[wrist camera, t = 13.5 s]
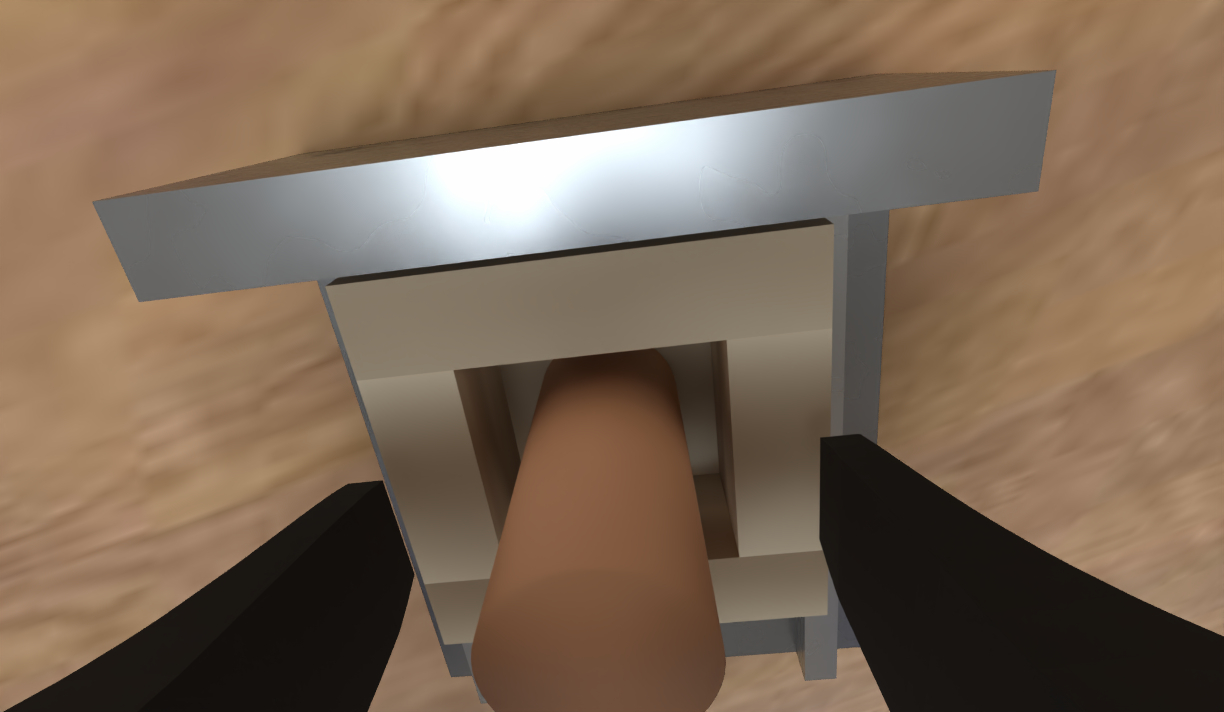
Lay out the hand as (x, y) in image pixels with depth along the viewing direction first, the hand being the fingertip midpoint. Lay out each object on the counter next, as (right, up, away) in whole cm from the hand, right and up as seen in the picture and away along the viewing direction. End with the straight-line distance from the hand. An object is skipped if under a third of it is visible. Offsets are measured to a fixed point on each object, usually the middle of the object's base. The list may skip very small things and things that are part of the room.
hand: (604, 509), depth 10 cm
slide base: (0, +1, +7) cm, 7 cm away
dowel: (0, +2, +4) cm, 4 cm away
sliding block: (0, +2, +5) cm, 5 cm away
